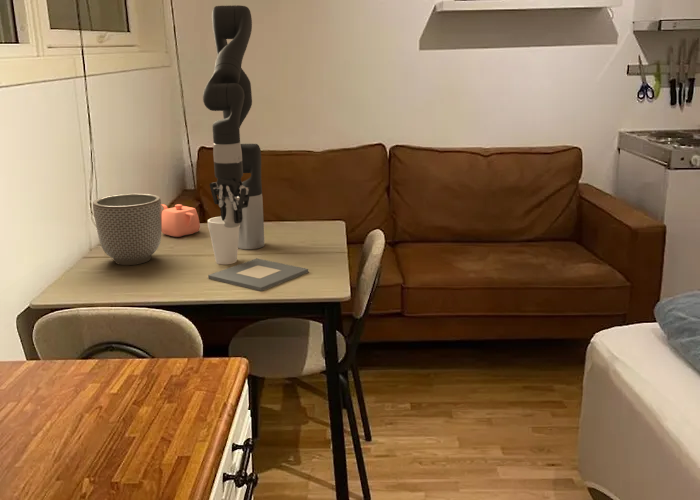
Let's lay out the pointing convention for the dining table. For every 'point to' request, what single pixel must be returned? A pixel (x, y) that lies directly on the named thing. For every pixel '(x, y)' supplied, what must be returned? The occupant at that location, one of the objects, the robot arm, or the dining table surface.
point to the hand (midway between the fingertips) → (232, 221)
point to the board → (258, 274)
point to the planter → (129, 226)
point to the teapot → (179, 220)
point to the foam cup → (223, 241)
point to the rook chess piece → (229, 214)
